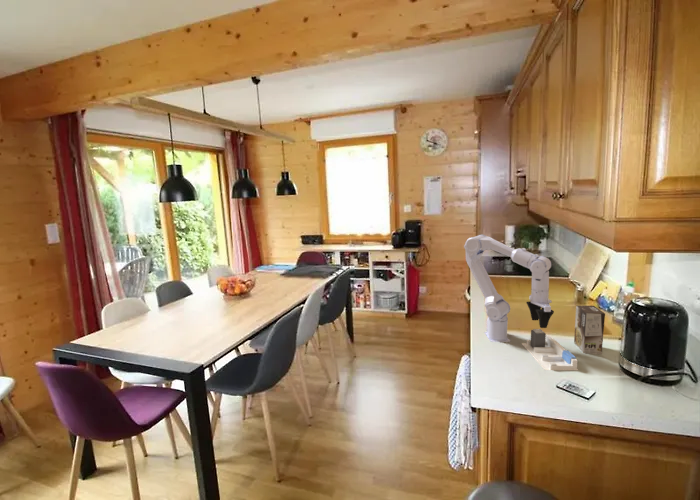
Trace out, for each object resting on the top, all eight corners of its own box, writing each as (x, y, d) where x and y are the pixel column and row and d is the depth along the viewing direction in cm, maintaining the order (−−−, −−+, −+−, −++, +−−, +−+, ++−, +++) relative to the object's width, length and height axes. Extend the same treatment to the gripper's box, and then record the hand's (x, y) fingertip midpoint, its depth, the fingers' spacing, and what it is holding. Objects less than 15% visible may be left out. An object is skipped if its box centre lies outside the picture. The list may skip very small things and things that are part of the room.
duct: (521, 344, 143) (521, 333, 142) (550, 344, 142) (550, 333, 141) (544, 371, 122) (545, 359, 121) (578, 371, 121) (579, 359, 120)
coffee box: (602, 355, 131) (606, 313, 128) (583, 354, 133) (586, 313, 130) (591, 344, 140) (594, 305, 137) (573, 343, 141) (575, 304, 138)
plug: (530, 345, 140) (531, 328, 139) (540, 345, 140) (541, 328, 139) (534, 349, 137) (535, 332, 135) (544, 349, 136) (545, 332, 135)
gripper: (560, 294, 126) (559, 331, 129) (543, 283, 141) (542, 316, 143) (539, 295, 127) (538, 331, 130) (524, 284, 141) (523, 317, 144)
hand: (539, 323), depth 136 cm, fingers open, 7 cm apart
